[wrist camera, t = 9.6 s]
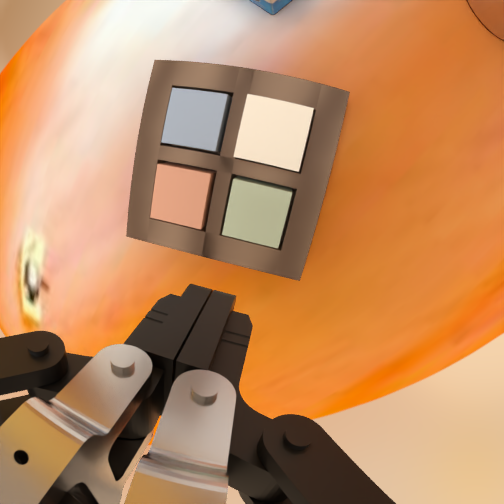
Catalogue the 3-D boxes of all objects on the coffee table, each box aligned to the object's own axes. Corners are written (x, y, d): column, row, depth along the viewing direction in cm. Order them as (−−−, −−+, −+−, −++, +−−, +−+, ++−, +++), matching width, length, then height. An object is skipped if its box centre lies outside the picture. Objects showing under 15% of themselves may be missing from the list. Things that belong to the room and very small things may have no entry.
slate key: (233, 99, 23) (227, 94, 20) (222, 150, 24) (215, 151, 22) (182, 92, 23) (172, 87, 21) (172, 142, 25) (161, 142, 22)
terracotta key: (218, 171, 25) (210, 173, 23) (208, 222, 27) (200, 229, 24) (169, 161, 25) (157, 163, 23) (161, 211, 27) (150, 217, 24)
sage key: (292, 188, 25) (292, 192, 22) (279, 239, 26) (277, 248, 24) (238, 175, 25) (233, 178, 23) (228, 226, 27) (222, 234, 24)
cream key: (311, 112, 21) (313, 108, 18) (297, 169, 22) (298, 171, 20) (252, 99, 21) (247, 93, 19) (239, 155, 22) (233, 156, 20)
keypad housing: (342, 98, 23) (349, 91, 20) (298, 265, 29) (299, 280, 25) (170, 68, 24) (154, 59, 20) (142, 226, 29) (126, 236, 26)
